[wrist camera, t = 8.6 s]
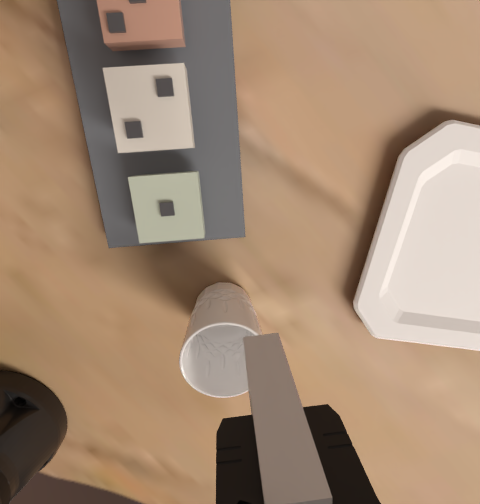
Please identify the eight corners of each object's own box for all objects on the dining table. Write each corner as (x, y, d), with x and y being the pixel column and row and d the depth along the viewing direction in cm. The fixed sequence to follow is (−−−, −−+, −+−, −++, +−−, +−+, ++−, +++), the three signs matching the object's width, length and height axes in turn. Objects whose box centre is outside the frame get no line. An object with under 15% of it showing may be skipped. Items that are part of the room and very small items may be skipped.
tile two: (125, 152, 27) (116, 152, 24) (111, 74, 25) (100, 66, 23) (195, 147, 27) (192, 147, 25) (186, 69, 25) (183, 61, 23)
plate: (402, 113, 31) (415, 110, 29) (609, 157, 34) (635, 157, 32) (338, 325, 39) (344, 335, 37) (513, 347, 41) (528, 357, 39)
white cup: (183, 283, 35) (169, 332, 26) (250, 270, 35) (261, 314, 26) (198, 341, 38) (190, 405, 28) (261, 329, 38) (274, 389, 28)
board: (115, 242, 33) (108, 247, 32) (60, -31, 26) (47, -46, 24) (244, 232, 34) (245, 236, 32) (226, -39, 26) (226, -54, 25)
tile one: (144, 237, 30) (138, 244, 28) (134, 175, 29) (126, 177, 26) (205, 232, 31) (204, 239, 28) (198, 170, 29) (196, 172, 27)
